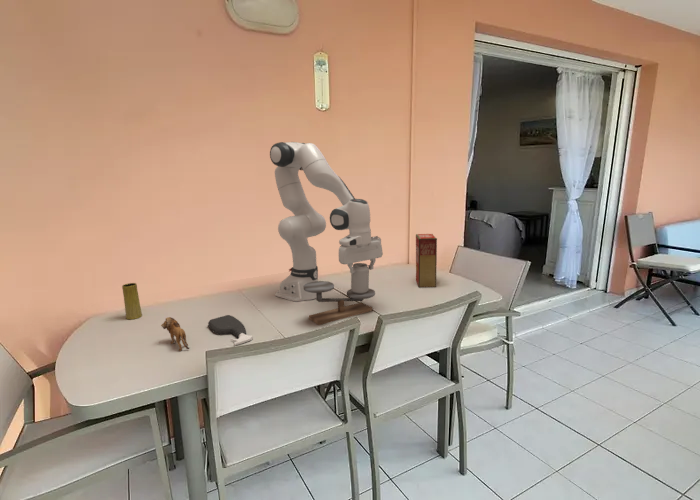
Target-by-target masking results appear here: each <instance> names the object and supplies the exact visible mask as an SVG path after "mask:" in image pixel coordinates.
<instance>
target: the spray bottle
mask: <svg viewBox="0 0 700 500" xmlns="http://www.w3.org/2000/svg"><path fill="white" fill-rule="evenodd" d="M207 324H208V325H207V326H208V327H209V329H210V330H211V331H212V332H213V333H214V334H216V335H220V336H221V335H222V336H225V335H234V336H235V338H230V341H234V342H233V346H238V345H241V344H245V343H247V342H251V341H252V340H254V336H253V335H248V334H247V331H246V330H247V329H246V327H245V325H244V324H243V322H241V321H240V320H239V319H238V318H236V317H235V316H233V315H230V314H225V315H222V316H220V317H219V316H218V317H215V318H212V319H210V320H209V321H208V322H207Z"/></svg>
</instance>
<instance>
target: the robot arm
mask: <svg viewBox="0 0 700 500" xmlns="http://www.w3.org/2000/svg"><path fill="white" fill-rule="evenodd" d="M269 159H270V160H271V162H272V164H273V165H274V166H276V167H275V169H274V179H275V183H276V187H277V190H278V193H279V197H280V199H281V202H282V203H281V204H282V205H283V207H284V208H285V209H287V210H289V211H290V212H291V213H292V214H293V215H291V216H288V217H285V218H284V219H282V220H280V221H279V223H278V226H277V230H278V235H279V236H280V238H281V239H282V240H284V241H286V243H287V244H288V246H289V247H290V251H291V256H292V267H290V268H289V269H288V272H290V275H288V276H286V278H285V279H283V280H282V281H281V282H280V285H279V290H277V291H276V292H275V293H274V296H275V297H277V298H282V299H285V300H289V301H292V302H301V301H309V300H315V299H317V296H316V293H311V292H307V291H305V290H304V287H303V286H304V285H305V284H307V283H310V282H315V281H319V279H318V278H319V269H318V265H317V264H318V263H317V251H316V249H315V248H314V247H313V246H311V245H310V243H309V241H308V240H309V239H308V238H313V237H317V236H319V235H320V234H322V233H323V232H325V230H326V228H327V220H326V219H325V217H324V216H323V215H322V214H321V213H319V212H318V211H317V210H315V208H313V206H312V205H311V203H310V201H308V198H307V196H306V193H305V191H304V189H303V188H304V187H303V185H302V183H301V179H300V177H299V171H303V174H304V175H305V177H306V179H307V180H308V182H309V183H310V184H311V185H312V186H315V187H316V188H319V189H324V190H327V191H329V192H331V193H333V194H334V195H335V196H336V197H337V199H338V201H339V202H340V204H341V206H339V207H337V208H336V207H335V208H334V209H333V210H331V212H330V214H329V223H330V225H331V226H332V228H333V229H334V230H336V231H345V230H349V232H348V233H349V234H347V235H345V236H344V237H343V238H340V239H339V241H338V243H339V245H340V246H339V248H338V262H339V263H340V264H341V265H347V266H348V269H349V273H350V274H351V273H352V274H353V273H355V269H353V264H355V263H361V262H365V261H370V263H369V265H368V264H367V265H368V266H367V267H368V268H369V271H371V270H374V265H375V264H376V259H380V258H382V256H383V254H384V253H383V247H382V239H381V237H380V236H378V235H375V236H372V231H371V224H370V223H371V212H370V205H369V202H368V201H367V200H365V199H362V198H355V196H354V195H353V194H352V192H351V191H350V189H349V187H348V186H347V185H346V183H345V182H344V180H342V178H341V177H340V176H339V175H338V174H337V173H336V172H335V170H334V169H333V168H332V167H331V166H330V164H329V163H328V161H327V159H326V157H325V156H324V154H323V152H322V151H321V150H320V148H318V146H317V145H316V144H315V143H312V142H308V143H307V142H306V143H304V142H297V141H296V142H295V141H290V142H289V141H288V142H287V141H286V142H285V141H284V142H282V141H281V142H276V143H274V144H272V146H271V147H270V151H269Z"/></svg>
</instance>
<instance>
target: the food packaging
mask: <svg viewBox="0 0 700 500" xmlns="http://www.w3.org/2000/svg"><path fill="white" fill-rule="evenodd" d="M437 241H438V238H437V237H436V236H435V235H434V234H433V233H416V234H415V282H416V285H417V287H418V288H437V263H438V262H437V255H438V254H437V252H438V251H437V250H438V247H437V246H438V244H437V243H438V242H437Z"/></svg>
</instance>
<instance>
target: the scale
mask: <svg viewBox="0 0 700 500" xmlns="http://www.w3.org/2000/svg"><path fill="white" fill-rule="evenodd" d="M303 287H304V290H305V291H307V292H311V293H316V296H317V298H316V301H317V302H318V303H329V302H330V303H334V302H337V308H333V309H328V310H324V311H320V312H318V313H313V314H309V315H308V320H310V321H311V322H312V323H314V324H316V325H317V326H321V325H324V324H329V323H332V322H335V321H339V320H344V319H347V318H350V317H354V316H357V315H362V314H365V313H369V312H372V311H373V306H371V305H369V304H366V303H365V302H363V300H366V299H371V298H373V297H375V295H376V291H375V290H374V289H372V288H369V290H368V291H367V292H366V293H364V294H356V293H353V291H352V290H351V288H350V289H348V290H347V291H346V296H347V297H331V298H330V297H328V298H323V293H327V292H331V291H332V290H334V289H335V284H334V283H333V282H331V281H326V280H318V281H315V282H310V283H307V284H305V285H304V286H303ZM345 302H355V303H353V304H348V305H345Z"/></svg>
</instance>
